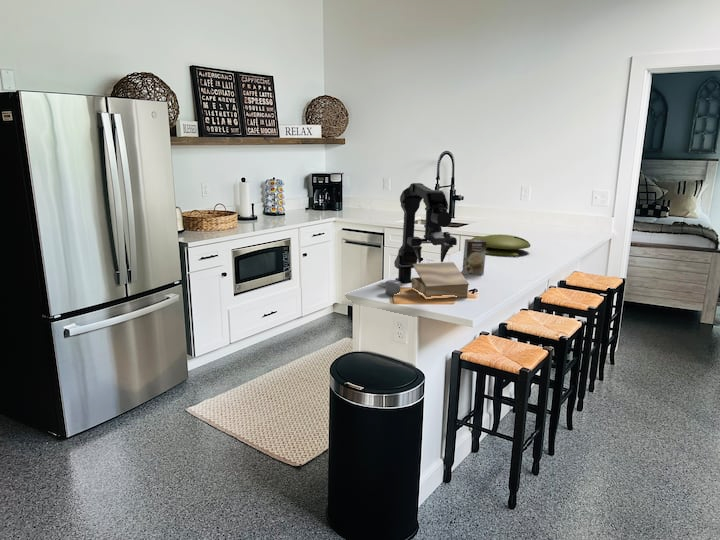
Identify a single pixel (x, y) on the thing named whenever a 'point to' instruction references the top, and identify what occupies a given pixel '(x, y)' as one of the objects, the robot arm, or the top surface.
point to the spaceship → (503, 244)
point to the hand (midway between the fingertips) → (430, 262)
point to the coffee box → (474, 257)
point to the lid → (440, 274)
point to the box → (439, 289)
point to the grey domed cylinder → (392, 287)
